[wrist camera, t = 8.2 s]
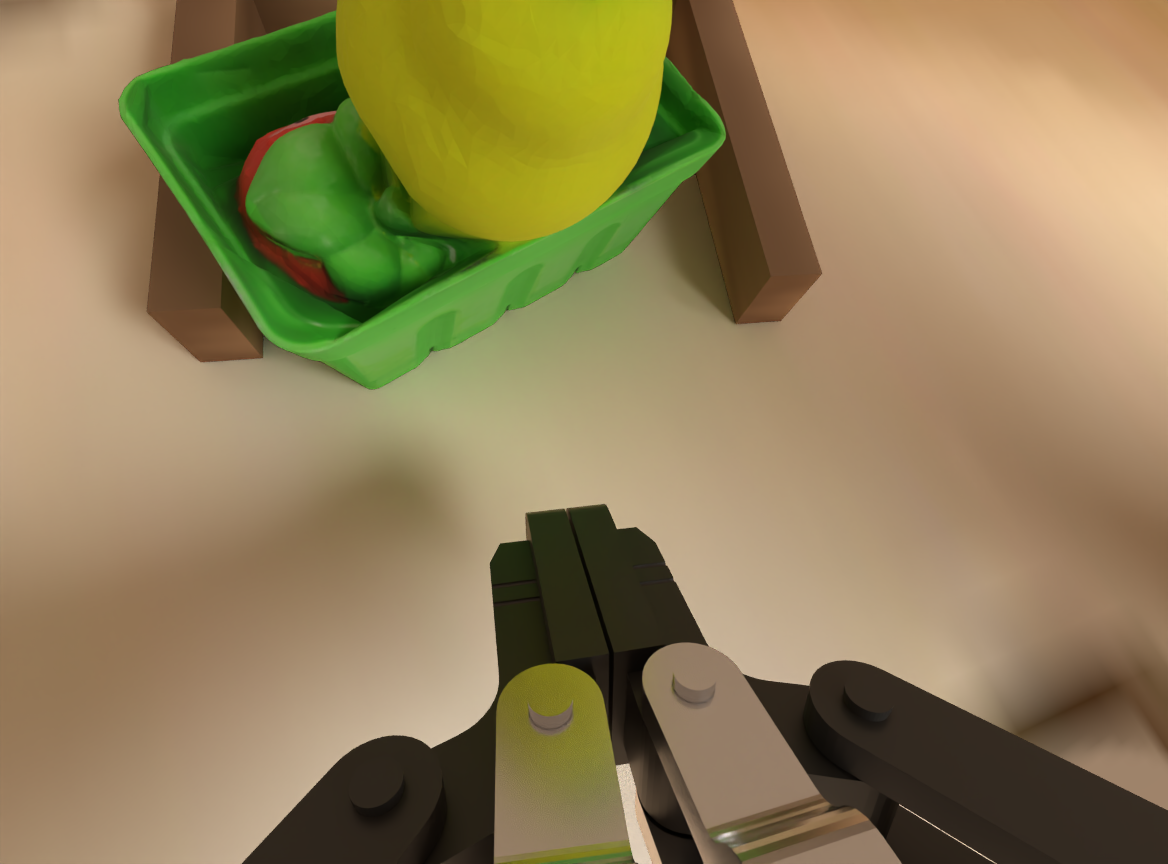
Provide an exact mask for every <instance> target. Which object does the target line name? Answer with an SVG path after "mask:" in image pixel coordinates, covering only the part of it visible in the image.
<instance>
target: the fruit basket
mask: <svg viewBox="0 0 1168 864" xmlns="http://www.w3.org/2000/svg"><path fill="white" fill-rule="evenodd" d="M671 23H672V0H337V10H336V11H333V12H329V13H326V14H324V15H322V16H319V17H316V18H314V19H311V20H308V21H305V22H302V23H298V24H295V25H292V26H289V27H286V28H283V29H280V30H278V31H275V32H272V33H269V34H266V35H264V36H261V37H255V38H252V39H249V40H246V41H243V42H240V43H236V44H234V45H231V46H229V47H226V48H223V49H220V50H216V51H213V52H210V53H206V54H203V55H200V56H197V57H194V58H191V59H183V60H181V61H179V62H177V63H174V64H171V65H167V66H164V67H161V68H158V69H155V70H152V71H149V72H147V73H145V74H142V75H140V76H138V77H136V78H134V79H133V80H132V81H131V82H130V83H129V84H128V85H127V86H126V87H125V89H124V90H123V92H122V95H121V97H120V98H119V100H118V101H119V111H120V115H121V118H122V120H123V121H124V123H125V124H126V125H127V127H128V128H129V130H130V131H131V133H132V134H133V135H134V137H135V138H136V140H137V141H138V143H139V144H140V145H141V147H142V148H143V150H144V151H145V153H146V154H147V156H148V157H149V158H150V160H151V161H152V163H153V164H154V166H155V167H156V169H157V170H158V172H159V173H160V175H161V176H162V178H163V179H164V181H165V182H166V184H167V185H168V187H169V188H170V190H171V191H172V193H173V194H174V195H175V197H176V199H177V200H178V202H179V203H180V205H181V206H182V207H183V209H184V210H185V212H186V213H187V215H188V217H189V218H190V220H191V222H192V223H193V225H194V226H195V228H196V229H197V231H198V232H199V234H200V235H201V237H202V238H203V240H204V241H205V243H206V245H207V246H208V248H209V249H210V251H211V252H212V254H213V256H214V257H215V259H216V260H217V262H218V264H219V265H220V267H221V268H222V270H223V272H224V273H225V275H226V276H227V278H228V280H229V281H230V283H231V284H232V286H233V288H234V289H235V291H236V293H237V294H238V296H239V297H240V299H241V301H242V302H243V304H244V305H245V307H246V309H247V310H248V312H249V313H250V315H251V317H252V318H253V320H254V322H255V323H256V325H257V327H258V328H259V329H260V331H261V332H262V333H263V335H264V336H265V337H266V338H267V339H268V340H269V341H271V342H272V343H274V344H275V345H276V346H278V347H280V348H282V349H284V350H287V351H289V352H292V353H294V354H297V355H299V356H301V357H303V358H307V359H311V360H314V361H321V362H323V363H325V364H326V365H328V366H330V367H331V368H333V369H335V370H337V371H338V372H340V373H342V374H344V375H345V376H347V377H349V378H350V379H352V380H354V381H356V382H357V383H359V384H361V385H363V386H364V387H366V388H368V389H377V388H380V387H382V386H384V385H386V384H387V383H389V382H391V381H393V380H394V379H396V378H398V377H400V376H401V375H403V374H405V373H407V372H409V371H411V370H413V369H414V368H416V367H417V366H419V365H420V364H421V362H422V361H423V360H424V359H425V358H426V357H428V356H429V354H430V352H431V351H439V350H442V349H447V348H451V347H453V346H455V345H457V344H459V343H461V342H463V341H464V340H466V339H468V338H469V337H471V336H473V335H475V334H477V333H479V332H481V331H482V330H484V329H486V328H488V327H489V326H491V325H493V324H494V323H495V322H496V321H497V320H498V319H499V318H500V317H501V316H502V315H503V314H504V312H505V310H507V309H508V310H513V309H517V308H522V307H525V306H527V305H529V304H531V303H533V302H534V301H536V300H538V299H540V298H541V297H543V296H545V295H547V294H549V293H550V292H552V291H554V290H556V289H558V288H559V287H561V286H562V285H564V284H565V283H566V282H567V280H568V279H569V278H571V277H572V275H573V274H574V272H576V273H579V272H582V271H587V270H591V269H593V268H595V267H597V266H599V265H601V264H603V263H605V262H606V261H608V260H610V259H612V258H613V257H615V256H617V255H619V254H620V253H621V252H623V251H624V250H625V248H626V247H627V246H628V245H629V244H630V243H631V241H632V240H633V239H634V238H635V237H636V236H637V235H638V234H639V232H640V231H641V230H642V229H643V227H644V226H645V225H646V224H647V223H648V221H649V220H650V219H651V218H652V217H653V216H654V214H655V213H656V212H657V211H658V210H659V209H660V207H661V206H662V205H663V204H664V203H665V201H666V200H667V199H668V198H669V197H670V196H671V194H672V193H673V192H674V191H675V190H676V188H677V187H678V186H679V185H680V184H681V183H682V182H683V181H684V180H686V179H688V178H690V177H691V176H693V175H694V174H695V173H696V172H697V171H698V170H699V169H700V168H701V167H702V166H703V165H704V164H705V163H706V162H707V161H708V160H709V159H710V158H711V156H712V155H713V154H714V153H715V152H716V151H717V150H718V149H719V148H720V147H721V146H722V144H723V142H724V140H725V138H726V132H725V127H724V125H723V122H722V120H721V118H720V116H719V115H718V114H717V113H716V112H715V110H714V109H713V108H712V107H711V106H710V105H709V103H708V102H707V101H706V100H704V99H703V98H702V97H701V96H700V95H699V94H697V93H696V91H694V90H693V89H692V87H691V85H689V84H688V82H687V81H686V79H685V78H684V77H683V76H682V75H681V74H680V72H679V71H678V69H677V68H676V67H675V66H674V65H673V64H672V62H671V61H670V60H669V59H668V58H666V57H665V55H666V51H667V47H668V44H669V38H670V31H671Z"/></svg>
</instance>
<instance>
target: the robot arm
mask: <svg viewBox="0 0 1168 864" xmlns="http://www.w3.org/2000/svg"><path fill="white" fill-rule="evenodd" d="M525 519H526V539H527V541H518V542H510V543H502V544H500V545H499V547H498V549H497V551H496V553H495V554H494V556H493V558H492V560H491V562H490V571H491V583H492V595H493V607H494V619H495V631H496V644H497V656H498V668H499V687H498V692H497V695H496V697H495V700H494V702H493V704H492V705H491V707H490V709H489V710H488V711H487V712H486V714H485V715H484V716H483V717H482V718H481V719H480V720H479V721H478V722H477V723H476V724H475V725H473V726H472V727H471V728H469V729H468V730H466V731H465V732H463V733H461V734H459V735H458V736H456V737H454V738H452V739H450V740H448V741H445V742H443V743H441V744H439V745H437V746H435V747H433V748H430V747H429V746H428V745H426V744H425V743H423V742H422V741H420V740H417V739H415V738H412V737H407V736H394V735H393V736H386V737H381V738H377V739H373V740H371V741H368V742H366V743H364V744H362V745H360V746H358V747H356V748H355V749H353V750H351V751H350V752H349V753H347V754H346V755H345V756H343V757H342V758H341V759H340V760H339V761H338V762H337V763H336V764H335V765H334V766H333V767H332V768H331V769H330V770H329V771H328V772H327V773H326V774H325V775H324V776H323V778H322V779H321V780H320V781H319V782H318V783H317V784H316V785H315V786H314V787H313V788H312V789H311V790H310V791H309V792H308V794H307V795H306V796H305V797H304V798H303V799H302V800H301V801H300V802H299V803H298V804H297V805H296V806H295V807H294V808H293V810H292V811H291V812H290V813H289V814H288V815H287V816H286V817H285V818H284V819H283V820H282V821H281V822H280V823H279V824H278V826H277V827H276V828H275V829H274V830H273V831H272V832H271V833H270V834H269V835H268V836H267V837H266V838H265V839H264V840H263V842H262V843H261V844H260V845H259V846H258V847H257V848H256V849H255V850H254V851H253V852H252V853H251V854H250V855H249V856H248V857H247V859H246V860H245V861H244V862H243V863H242V864H638V863H635V862H634V859H633V856H632V852H631V848H630V843H629V838H628V832H627V826H626V821H625V815H624V810H623V804H622V798H621V793H620V787H619V782H618V776H617V771H616V765H621V764H627V763H629V764H630V768H631V771H632V775H633V778H634V782H635V785H636V796H635V812H636V817H637V821H638V824H639V827H640V830H641V832H642V835H643V838H644V841H645V844H646V847H647V850H648V853H649V855H650V858H651V861H652V864H995V863H997V864H1168V810H1166V809H1164V808H1162V807H1159V806H1157V805H1155V804H1153V803H1151V802H1149V801H1147V800H1145V799H1143V798H1141V797H1139V796H1137V795H1135V794H1133V793H1131V792H1129V791H1127V790H1125V789H1123V788H1121V787H1119V786H1117V785H1115V784H1113V783H1111V782H1109V781H1107V780H1105V779H1103V778H1100V777H1099V776H1097V775H1095V774H1092V773H1091V772H1088V771H1087V770H1084V769H1082V768H1080V767H1078V766H1076V765H1074V764H1072V763H1070V762H1068V761H1066V760H1064V759H1062V758H1060V757H1058V756H1056V755H1054V754H1052V753H1050V752H1048V751H1046V750H1044V749H1042V748H1040V747H1038V746H1036V745H1034V744H1032V743H1030V742H1028V741H1026V740H1024V739H1022V738H1020V737H1018V736H1016V735H1013V734H1011V733H1009V732H1007V731H1005V730H1003V729H1001V728H999V727H997V726H995V725H993V724H991V723H989V722H987V721H985V720H983V719H981V718H979V717H977V716H975V715H973V714H971V713H969V712H967V711H965V710H963V709H961V708H959V707H957V706H955V705H953V704H951V703H949V702H947V701H945V700H942V699H940V698H938V697H936V696H934V695H932V694H930V693H928V692H926V691H924V690H922V689H920V688H918V687H916V686H914V685H912V684H910V683H908V682H906V681H904V680H902V679H900V678H898V677H896V676H894V675H892V674H890V673H888V672H886V671H884V670H882V669H879V668H877V667H875V666H872V665H869V664H866V663H862V662H856V661H846V660H844V661H835V662H830V663H828V664H825V665H823V666H822V667H820V668H819V669H817V671H816V672H815V673H814V674H813V676H812V679H811V681H810V686H806V685H798V684H790V683H781V682H773V681H766V680H760V679H756V678H753V677H749V676H747V675H744V674H742V673H741V671H740V670H739V668H738V667H737V666H736V664H735V663H734V662H733V661H732V660H730V659H729V658H728V657H727V656H725V655H724V654H723V653H721V652H719V651H717V650H716V649H713V648H711V647H709V646H708V644H707V643H706V641H705V639H704V637H703V635H702V633H701V631H700V629H699V627H698V625H697V623H696V621H695V619H694V617H693V615H692V613H691V611H690V609H689V608H688V606H687V604H686V602H685V600H684V598H683V596H682V594H681V592H680V590H679V588H678V586H677V584H676V582H674V580H673V576H672V574H671V572H670V570H669V568H668V566H666V565H665V560H664V559H663V557H662V555H661V553H660V551H659V549H658V547H657V545H656V543H655V542H654V541H653V540H652V539H650V538H649V537H648V536H647V535H645V534H644V533H643V532H642V531H640V530H639V529H638V528H636V527H634V528H626V529H617V528H616V526H615V524H614V521H613V519H612V517H611V514H610V512H609V510H608V507H607V506H606V505H605V504H601V505H592V506H583V507H574V508H567V509H566V511H565V509H557V510H548V511H539V512H531V513H526V516H525ZM899 804H900V805H902V806H904V807H905V808H907V809H909V810H910V811H912V812H913V813H915V814H917V815H918V816H920V817H922V818H923V819H925V820H927V821H928V822H930V823H931V824H933V825H935V826H936V827H938V828H940V829H941V830H943V831H945V832H946V833H948V834H949V835H951V836H953V837H954V838H956V839H958V840H959V841H961V842H963V843H964V844H966V845H967V846H969V847H971V848H972V849H974V850H976V851H977V852H979V853H981V854H982V855H984V856H985V857H987V858H989V859H990V860H992V861H994V862H995V863H993V862H991V861H989V860H988V859H986V858H984V857H983V856H981V855H979V854H978V853H976V852H975V851H973V850H971V849H970V848H968V847H966V846H965V845H963V844H962V843H960V842H958V841H957V840H955V839H953V838H952V837H950V836H948V835H947V834H945V833H944V832H942V831H940V830H939V829H937V828H935V827H934V826H932V825H931V824H929V823H927V822H926V821H924V820H922V819H921V818H919V817H917V816H916V815H914V814H913V813H911V812H909V811H908V810H906V809H904V808H903V807H901V806H899Z"/></svg>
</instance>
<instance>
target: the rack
mask: <svg viewBox="0 0 1168 864" xmlns="http://www.w3.org/2000/svg"><path fill="white" fill-rule="evenodd" d="M336 10H337V0H177V3H176V14H175V24H174V35H173V45H172V55H171V64H174V63H177V62H179V61H181V60H183V59H191V58H194V57H197V56H200V55H203V54H206V53H210V52H213V51H216V50H220V49H223V48H226V47H229V46H231V45H234V44H236V43H240V42H243V41H246V40H249V39H252V38H255V37H261V36H264V35H266V34H269V33H272V32H275V31H278V30H280V29H283V28H286V27H289V26H292V25H295V24H298V23H302V22H305V21H308V20H311V19H314V18H316V17H319V16H322V15H324V14H326V13H329V12H333V11H336ZM665 57H666V58H668V59H669V60H670V61H671V62H672V64H673V65H674V66H675V67H676V68H677V69H678V71H679V72H680V74H681V75H682V76H683V77H684V78H685V79H686V81H687V82H688V84H689V85H691V87H692V89H693V90H694V91H696V93H697V94H699V95H700V96H701V97H702V98H703V99H704V100H706V101H707V102H708V103H709V105H710V106H711V107H712V108H713V109H714V110H715V112H716V113H717V114H718V115H719V116H720V118H721V120H722V122H723V125H724V127H725V132H726V138H725V140H724V142H723V144H722V146H721V147H720V148H719V149H718V150H717V151H716V152H715V153H714V154H713V155H712V156H711V158H710V159H709V160H708V161H707V162H706V163H705V164H704V165H703V166H702V167H701V168H700V169H699V170H698V171H697V172H696V176H697V180H698V184H699V187H700V191H701V195H702V199H703V202H704V206H705V210H706V214H707V217H708V221H709V225H710V229H711V232H712V236H713V240H714V244H715V248H716V251H717V255H718V259H719V263H720V266H721V270H722V274H723V278H724V281H725V285H726V289H727V293H728V297H729V300H730V304H731V308H732V312H733V315H734V319H735V323H736V324H743V323H757V322H771V321H781V320H782V319H783V318H784V316H785V315H786V314H787V313H788V312H789V311H790V310H791V308H792V307H793V306H794V305H795V304H796V303H797V302H798V301H799V299H800V298H801V297H802V296H803V295H804V294H805V293H806V291H807V290H808V289H809V288H810V287H811V286H812V285H813V283H814V282H815V281H816V280H817V279H818V278H819V277H820V275H821V274H822V272H821V269H820V266H819V263H818V260H817V257H816V254H815V251H814V248H813V245H812V241H811V238H810V235H809V232H808V229H807V226H806V223H805V220H804V217H803V214H802V211H801V208H800V205H799V202H798V199H797V196H796V193H795V190H794V187H793V184H792V181H791V178H790V174H789V171H788V168H787V165H786V162H785V159H784V156H783V153H782V150H781V147H780V144H779V141H778V138H777V135H776V132H775V129H774V126H773V123H772V120H771V117H770V114H769V111H768V108H767V104H766V101H765V98H764V95H763V92H762V89H761V86H760V83H759V80H758V77H757V74H756V71H755V68H754V65H753V62H752V59H751V56H750V53H749V50H748V47H747V44H746V41H745V37H744V34H743V31H742V28H741V25H740V22H739V19H738V16H737V13H736V10H735V7H734V4H733V1H732V0H672V23H671V31H670V38H669V44H668V47H667V51H666V55H665ZM147 313H148V314H149V315H151V316H152V317H153V318H154V319H155V320H156V321H157V322H158V323H159V324H160V325H161V326H162V327H163V328H165V329H166V330H167V331H168V332H169V333H170V334H171V335H172V336H173V337H174V338H175V339H176V340H177V341H179V342H180V343H181V344H182V345H183V346H184V347H185V348H186V349H187V350H188V351H189V352H190V353H192V354H193V355H194V356H195V357H196V358H197V359H198V360H199V361H200V362H212V361H226V360H240V359H254V358H263V333H262V332H261V331H260V329H259V328H258V327H257V325H256V323H255V322H254V320H253V318H252V317H251V315H250V313H249V312H248V310H247V309H246V307H245V305H244V304H243V302H242V301H241V299H240V297H239V296H238V294H237V293H236V291H235V289H234V288H233V286H232V284H231V283H230V281H229V280H228V278H227V276H226V275H225V273H224V272H223V270H222V268H221V267H220V265H219V264H218V262H217V260H216V259H215V257H214V256H213V254H212V252H211V251H210V249H209V248H208V246H207V245H206V243H205V241H204V240H203V238H202V237H201V235H200V234H199V232H198V231H197V229H196V228H195V226H194V225H193V223H192V222H191V220H190V218H189V217H188V215H187V213H186V212H185V210H184V209H183V207H182V206H181V205H180V203H179V202H178V200H177V199H176V197H175V195H174V194H173V193H172V191H171V190H170V188H169V187H168V185H167V184H166V182H165V181H164V179H163V178H162V176H161V175H160V180H159V191H158V201H157V211H156V222H155V232H154V243H153V253H152V263H151V274H150V284H149V295H148V305H147Z"/></svg>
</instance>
